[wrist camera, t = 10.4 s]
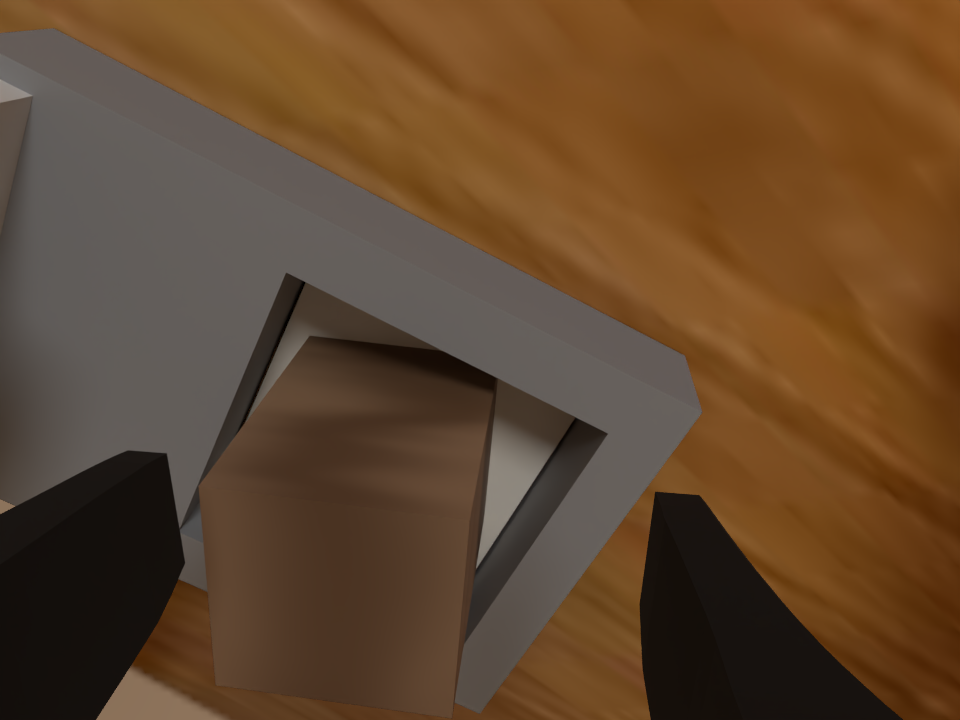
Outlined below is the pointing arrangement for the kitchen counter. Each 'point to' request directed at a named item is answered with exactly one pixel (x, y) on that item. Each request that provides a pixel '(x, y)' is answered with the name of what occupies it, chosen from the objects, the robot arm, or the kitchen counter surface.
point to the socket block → (289, 326)
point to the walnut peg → (351, 528)
